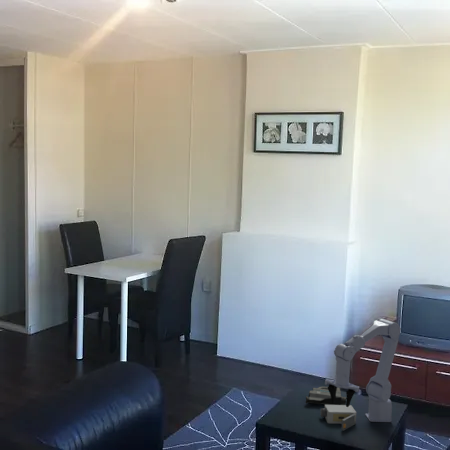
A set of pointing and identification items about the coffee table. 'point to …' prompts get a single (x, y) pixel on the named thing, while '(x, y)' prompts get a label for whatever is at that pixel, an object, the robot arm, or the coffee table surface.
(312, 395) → the camcorder
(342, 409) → the camera case
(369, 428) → the coffee table surface
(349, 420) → the side door
